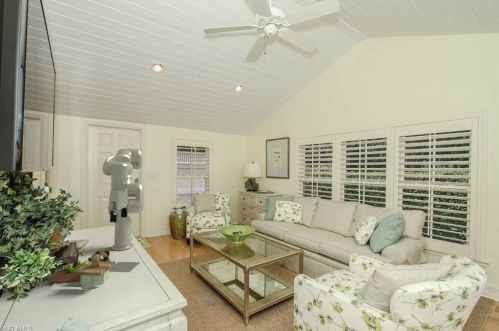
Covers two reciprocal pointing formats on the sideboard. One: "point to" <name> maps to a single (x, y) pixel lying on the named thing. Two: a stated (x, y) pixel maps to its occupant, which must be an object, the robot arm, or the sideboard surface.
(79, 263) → the plant
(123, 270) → the mat
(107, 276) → the bowl
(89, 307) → the sideboard surface
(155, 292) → the sideboard surface
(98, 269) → the lid
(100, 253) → the brown animal figurine
